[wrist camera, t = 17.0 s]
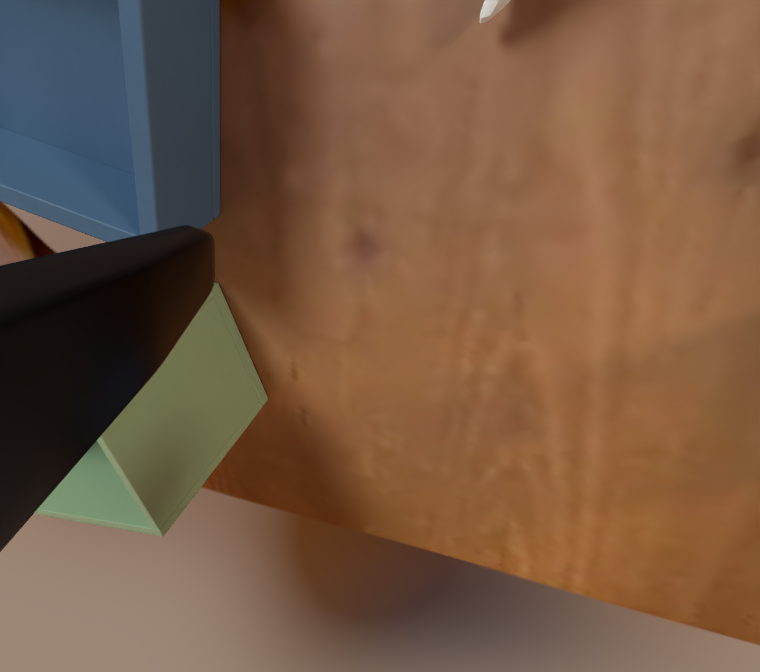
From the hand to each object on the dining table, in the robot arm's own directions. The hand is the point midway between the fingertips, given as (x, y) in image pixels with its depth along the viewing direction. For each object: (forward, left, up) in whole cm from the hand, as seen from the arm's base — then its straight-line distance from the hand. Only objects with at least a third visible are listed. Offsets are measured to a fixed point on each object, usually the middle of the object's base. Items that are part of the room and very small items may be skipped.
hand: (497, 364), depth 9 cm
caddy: (-1, +23, -13) cm, 27 cm away
